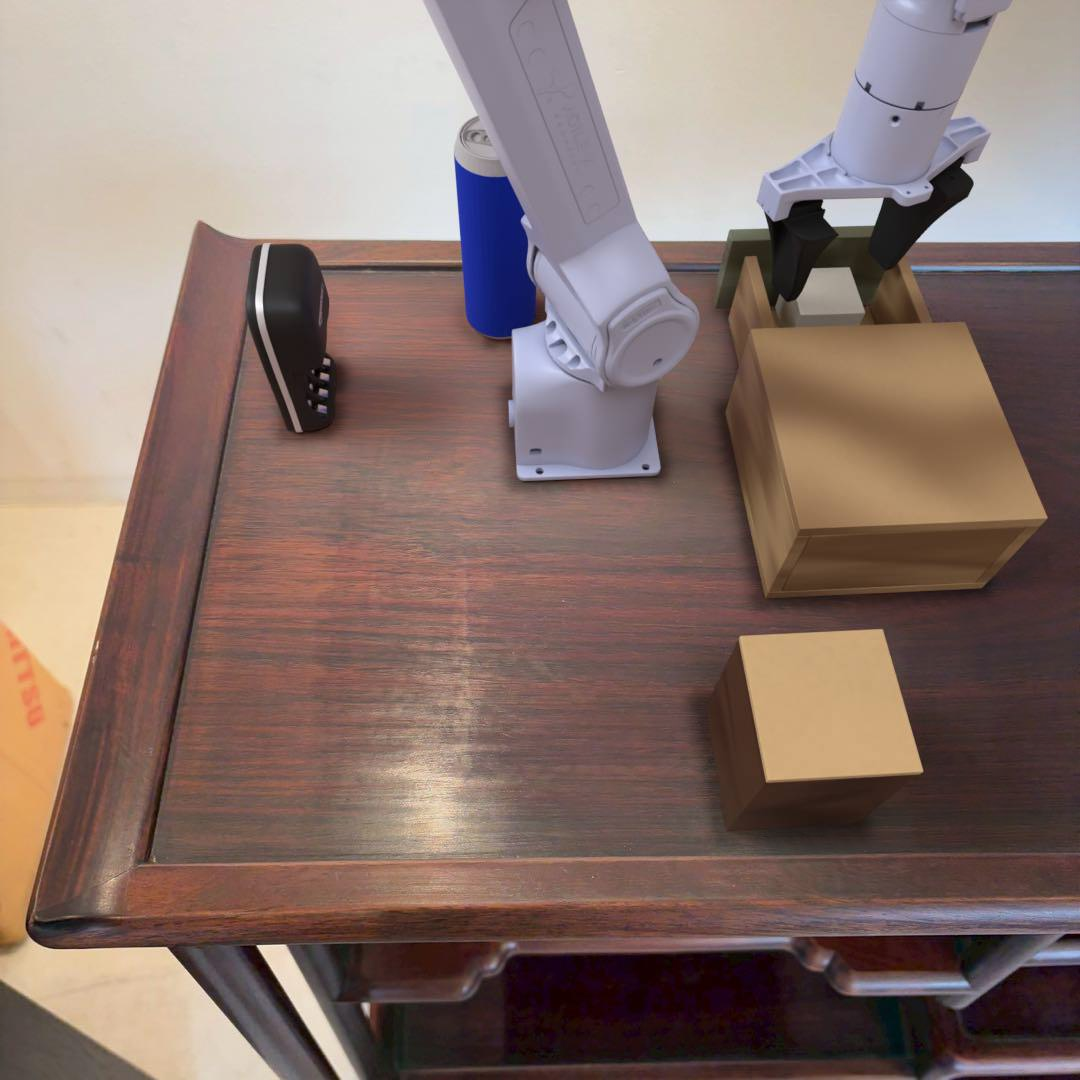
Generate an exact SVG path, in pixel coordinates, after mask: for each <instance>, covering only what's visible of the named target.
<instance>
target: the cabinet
mask: <svg viewBox="0 0 1080 1080" xmlns="http://www.w3.org/2000/svg"><path fill="white" fill-rule="evenodd" d="M724 413H725V417H726V423H727V427H728V432H729V437H730V441H731V446H732V451H733V455H734V460H735V465H736V469H737V470H736V471H737V474H738V479H739V483H740V488H741V493H742V498H743V501H744V502H743V503H744V506H745V512H746V515H747V520H748V526H749V529H750V535H751V539H752V544H753V548H754V553H755V558H756V562H757V567H758V573H759V577H760V580H761V586H762V589H763V595H764V598H765V599H781V598H803V597H805V598H806V597H825V596H827V597H828V596H845V595H846V596H849V595H866V594H867V595H869V594H890V593H911V592H912V593H915V592H931V591H934V592H935V591H955V590H977V589H983V588H984V587H985V586H986V585H987V584H988V582H989V581H991V579H992V578H993V577H994V576H995V575H997V573H998V572H999V571H1000V570H1001V569H1002V568H1003V567H1004V566H1005V565H1006V563H1008V562H1009V560H1010V559H1011V558H1012V557H1013V556H1014V555H1015V554H1016V553H1017V552H1018V551H1019V550H1020V549H1021V548H1022V547H1023V545H1024V544H1026V542H1027V541H1029V539H1030V538H1031V537H1032V536H1033V535H1034V534H1035V533H1036V532H1037V531H1038V530H1039V528H1040V527H1041V526H1042V525H1043V524H1044V523H1045V522H1046V521H1047V520H1048V519H1049V518H1048V515H1047V513H1046V510H1045V508H1044V505H1043V503H1042V501H1041V498H1040V496H1039V494H1038V491H1037V489H1036V487H1035V484H1034V482H1033V480H1032V477H1031V475H1030V472H1029V470H1028V468H1027V465H1026V463H1025V461H1024V460H1025V459H1024V458H1023V456H1022V454H1021V451H1020V449H1019V446H1018V444H1017V441H1016V439H1015V437H1014V434H1013V433H1012V430H1011V427H1010V425H1009V423H1008V419H1007V418H1006V416H1005V413H1004V411H1003V408H1002V406H1001V404H1000V402H999V399H998V396H997V394H996V391H995V390H994V387H993V384H992V382H991V381H990V377H989V375H988V373H987V371H986V367H985V366H984V364H983V361H982V359H981V356H980V354H979V351H978V349H977V347H976V343H975V342H974V339H973V337H972V335H971V332H970V330H969V328H968V326H967V323H966V322H965V321H950V322H948V321H947V322H946V321H945V322H932V323H914V324H884V325H853V326H822V327H792V328H761V329H750V332H749V336H748V340H747V343H746V346H745V350H744V353H743V356H742V359H741V363H740V366H739V365H738V370H737V373H736V376H735V379H734V383H733V386H732V389H731V393H730V395H729V399H728V403H727V406H726V409H725V412H724Z"/></svg>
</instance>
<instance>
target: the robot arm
mask: <svg viewBox="0 0 1080 1080" xmlns="http://www.w3.org/2000/svg"><path fill="white" fill-rule="evenodd" d="M1013 1H1014V0H877V1H876V4H875V7H874V11H873V13H872V16H871V19H870V22H869V25H868V27H867V31H866V35H865V38H864V41H863V44H862V47H861V49H860V53H859V56H858V59H857V62H856V65H855V68H854V70H853V74H852V77H851V80H850V82H849V86H848V90H847V92H846V95H845V98H844V101H843V105H842V108H841V111H840V114H839V116H838V119H837V123H836V125H835V129H834V130H833V131H832V132H831V133H829V134H828V135H826V136H825V137H823V138H822V139H820V140H819V141H818V142H816V143H815V144H813V145H812V146H810V147H808V149H806V150H805V151H803V152H802V153H800V154H798V155H797V156H796V157H794V158H793V159H792V160H790V161H789V162H787V163H786V164H784V165H782V166H779V167H778V168H776V169H773V170H770V171H767V172H764V173H763V175H762V179H761V182H760V186H759V189H758V193H757V197H756V203H757V204H758V205H759V207H760V208H761V209H762V211H763V213H764V216H765V219H766V223H767V228H769V233H770V239H771V248H772V285H773V286H774V287H775V289H776V290H777V291H778V292H779V294H780V295H781V296H782V297H783V299H784V300H785V301H786V302H791V301H794V300H796V299H797V298H798V297H799V295H800V294H801V292H802V291H803V289H804V286H805V284H806V282H807V280H808V277H809V275H810V272H811V270H812V268H813V266H814V264H815V263H816V261H817V259H818V258H819V256H820V255H821V254H822V252H823V251H824V250H825V248H826V247H827V246H828V245H829V244H830V243H831V242H832V241H833V240H834V239H835V238H836V237H838V236H839V234H838V233H837V232H836V231H835V230H834V229H833V228H832V227H833V226H832V225H831V224H830V223H829V222H828V221H827V219H825V215H826V214H825V213H826V209H825V208H823V203H824V200H855V199H856V200H857V199H858V200H859V199H882V203H881V206H880V209H879V212H878V214H877V218H876V220H875V223H874V225H875V226H874V225H873V226H874V229H873V232H872V235H871V238H870V243H869V249H868V252H869V253H870V255H871V256H872V257H873V258H874V259H875V260H876V261H877V262H878V263H879V265H880V266H881V267H882V268H883V269H884V270H885V271H886V270H889V269H892V268H894V267H895V266H896V264H897V263H898V262H899V261H900V260H901V259H902V258H903V256H904V255H905V254H906V255H907V253H908V252H909V251H910V249H911V248H912V247H913V246H914V244H916V243H917V241H918V240H919V239H920V238H921V236H923V235H924V233H925V232H926V231H928V229H930V227H931V226H932V225H933V224H934V223H935V222H936V221H938V220H939V219H940V218H941V217H942V216H943V215H945V214H946V213H947V212H949V210H951V209H952V208H954V207H955V206H956V205H958V204H960V203H961V202H962V201H964V200H965V199H967V198H968V197H969V196H970V194H971V192H972V189H973V188H974V185H975V183H974V180H973V178H972V177H971V176H970V175H969V174H968V173H967V172H966V171H965V170H964V169H963V168H962V165H969V164H972V163H975V162H978V161H979V159H980V157H981V155H982V153H983V151H984V149H985V147H986V145H987V143H988V141H989V139H990V137H991V135H992V132H991V131H990V130H989V129H988V128H987V127H986V126H985V125H983V124H982V122H980V121H979V120H978V119H977V118H976V117H975V116H973V115H972V114H967V115H963V116H958V117H957V116H956V117H953V114H954V113H955V110H956V108H957V106H958V104H959V101H960V99H961V97H962V95H963V93H964V90H965V88H966V86H967V84H968V81H969V79H970V77H971V74H972V72H973V70H974V68H975V66H976V63H977V61H978V59H979V57H980V55H981V53H982V50H983V47H984V46H985V43H986V41H987V38H988V36H989V34H990V32H991V29H992V28H993V25H994V23H995V21H996V18H997V16H998V14H999V13H1002V12H1005V11H1006V10H1008V9H1009V8H1010V6H1011V4H1012V3H1013ZM422 2H423V5H424V7H425V9H426V11H427V13H428V15H429V18H430V19H431V21H432V23H433V25H434V27H435V30H436V32H437V34H438V36H439V37H440V40H441V42H442V44H443V46H444V48H445V50H446V53H447V54H448V56H449V59H450V61H451V62H452V65H453V66H454V69H455V71H456V73H457V75H458V77H459V80H460V81H461V84H462V85H463V87H464V90H465V92H466V94H467V96H468V99H469V101H470V102H471V104H472V106H473V109H474V110H475V113H476V116H477V115H478V117H479V119H480V121H481V123H482V125H483V127H484V129H485V131H486V133H487V135H488V138H489V140H490V142H491V144H492V146H493V148H494V150H495V152H496V154H497V156H498V158H499V160H500V162H501V165H502V167H503V169H504V171H505V173H506V175H507V177H508V179H509V181H510V183H511V185H512V187H513V189H514V192H515V194H516V196H517V198H518V200H519V202H520V204H521V206H522V208H523V210H524V212H525V215H524V216H523V217H522V219H521V223H522V225H523V227H524V229H525V231H526V234H527V237H528V254H527V270H528V274H529V277H530V278H531V280H532V282H533V283H534V285H535V286H536V288H538V289H539V291H541V292H542V294H544V296H545V297H544V298H545V301H544V312H545V313H546V319H545V320H542V321H540V322H537V323H536V324H531V326H528V327H523V328H518V329H513V330H512V338H511V383H512V385H511V386H512V387H511V388H512V390H511V394H512V395H511V396H512V397H511V398H512V399H508V402H507V404H508V405H507V406H508V427H509V428H513V429H514V430H513V431H514V446H515V447H514V448H515V466H516V477H517V478H518V480H519V481H522V482H533V481H534V482H535V481H537V482H538V481H556V480H557V481H558V480H559V481H560V480H584V479H609V478H611V479H612V478H634V477H655V476H658V475H659V474H660V473H661V470H662V469H661V468H662V466H661V460H660V459H661V458H660V454H659V447H658V441H657V436H656V429H655V422H654V416H653V413H654V408H655V403H656V397H657V391H658V386H659V382H660V381H659V380H660V378H662V377H663V376H664V377H665V375H667V374H668V373H669V372H671V371H672V370H673V369H674V368H675V367H676V366H678V364H679V363H681V361H682V360H683V359H685V356H686V355H687V354H688V352H689V350H690V349H691V347H692V345H693V343H694V341H695V339H696V337H697V334H698V332H699V328H700V322H701V321H700V318H701V317H700V312H699V308H698V307H697V306H696V304H695V303H694V301H692V299H691V298H689V297H688V296H686V295H685V294H683V293H682V292H681V291H680V290H679V288H678V287H677V286H676V284H674V282H673V280H672V279H671V276H670V274H669V272H668V270H667V268H666V267H665V265H664V264H663V262H662V260H661V258H660V256H659V255H658V253H657V251H656V250H655V248H654V247H653V245H652V243H651V241H650V240H649V238H648V236H647V235H646V233H645V231H644V229H643V227H642V225H641V224H640V222H639V220H638V219H637V216H636V212H635V209H634V206H633V203H632V200H631V197H630V193H629V190H628V187H627V184H626V181H625V177H624V174H623V171H622V168H621V164H620V161H619V159H618V158H619V157H618V156H617V153H616V149H615V146H614V143H613V139H612V137H611V134H610V129H609V126H608V124H607V119H606V118H605V114H604V111H603V108H602V105H601V101H600V99H599V95H598V92H597V89H596V87H595V82H594V79H593V76H592V73H591V71H590V68H589V63H588V61H587V57H586V54H585V52H584V48H583V45H582V42H581V39H580V36H579V33H578V29H577V26H576V23H575V20H574V16H573V14H572V10H571V8H570V3H569V1H568V0H422ZM644 468H646V469H644ZM539 472H541V473H539Z"/></svg>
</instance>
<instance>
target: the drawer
mask: <svg viewBox="0 0 1080 1080" xmlns="http://www.w3.org/2000/svg"><path fill="white" fill-rule="evenodd" d="M874 226H875V224H874V225H842V226H841V225H840V226H832V228H833V229H834V230H835V231H836V232H837V233H838V234H839V236H838V237H836V238H835V239H834V240H833V241H832V242H831V243H830V244H829V245H828V246H827V247H826V248H825V250H824V251H823V252H822V254H821V255H820V256H819V258H818V259H817V261H816V263H815V264H814V266H813V268H843V267H850V270H851V273H852V275H853V278H854V281H855V284H856V287H857V290H858V293H859V296H860V299H861V302H862V304H863V305H869V306H863V307H864V310H865V315H864V317H863V319H862V321H861V324H860V325H884V324H914V323H933V320H932V317H931V315H930V312H929V309H928V307H927V305H926V302H925V300H924V297H923V295H922V292H921V290H920V287H919V285H918V282H917V279H916V277H915V274H914V272H913V269H912V267H911V265H910V263H909V259H908V258H907V257H908V256H907V253H906V254H905V255H904V256H903V258H902V259H901V260H900V261H899V262H898V263H897V264H896V266H895V267H894V268H892V269H889V270H886V271H885V270H884V269H883V268H882V267H881V266H880V265H879V263H878V262H877V261H876V260H875V259H874V258H873V257H872V256H871V255H870V253H869V252H868V249H869V243H870V238H871V235H872V232H873V229H874ZM778 297H779V292H778V291H777V290H776V289H775V287H774V286H773V285H772V248H771V239H770V233H769V228H768V227H766V228H736V229H735V228H734V229H733V228H732V229H729V230H728V233H727V237H726V242H725V246H724V250H723V253H722V258H721V262H720V267H719V270H718V274H717V278H716V282H715V287H714V291H713V295H712V301H713V307H714V309H716V310H722V309H723V310H724V309H730V310H729V314H728V318H727V319H728V323H729V327H730V331H731V335H732V336H731V337H732V341H733V345H734V350H735V354H736V357H737V363H738V367H739V366H740V363H741V359H742V356H743V353H744V350H745V346H746V343H747V340H748V336H749V332H750V329H761V328H781V327H780V323H779V320H778V316H777V312H776V309H772V308H775V306H776V303H777V300H778Z"/></svg>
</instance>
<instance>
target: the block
mask: <svg viewBox="0 0 1080 1080" xmlns="http://www.w3.org/2000/svg"><path fill="white" fill-rule="evenodd" d="M864 307H865V306H864V304H862V302H861V299H860V296H859V293H858V290H857V287H856V284H855V281H854V278H853V275H852V273H851V270H850V267H843V268H812V270H811V272H810V275H809V277H808V280H807V282H806V284H805V286H804V289H803V291H802V292H801V294H800V295H799V297H798V298H797V299H796V300H794V301H791V302H786V301H785V300H784V299H783V297H782V296H781V295H780V294H779V297H778V300H777V303H776V306H775V307H774V308H775V309H774V310H776V312H777V316H778V320H779V323H780V327H781V328H792V327H822V326H853V325H860V324H861V321H862V319H863V317H864V315H865V310H864Z"/></svg>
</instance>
